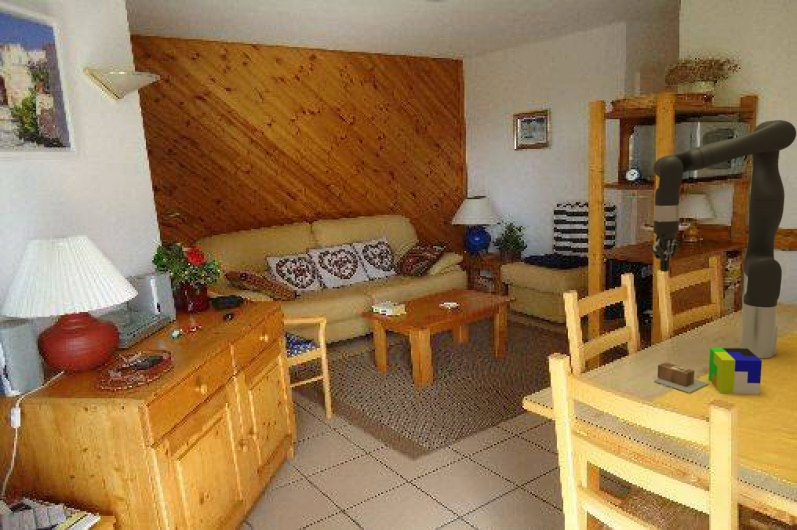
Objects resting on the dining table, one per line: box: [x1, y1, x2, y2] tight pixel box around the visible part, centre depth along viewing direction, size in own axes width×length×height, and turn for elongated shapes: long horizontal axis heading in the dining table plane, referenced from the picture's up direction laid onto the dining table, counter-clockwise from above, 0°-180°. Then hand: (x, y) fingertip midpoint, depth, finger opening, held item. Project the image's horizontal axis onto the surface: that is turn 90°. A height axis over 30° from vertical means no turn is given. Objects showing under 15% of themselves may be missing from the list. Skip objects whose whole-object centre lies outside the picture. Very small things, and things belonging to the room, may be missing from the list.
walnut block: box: [657, 361, 695, 387], centre depth 167 cm, size 4×4×9 cm
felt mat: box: [653, 378, 710, 394], centre depth 166 cm, size 10×11×1 cm
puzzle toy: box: [708, 347, 763, 395], centre depth 161 cm, size 10×10×10 cm
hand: (664, 271), depth 184 cm, fingers closed
